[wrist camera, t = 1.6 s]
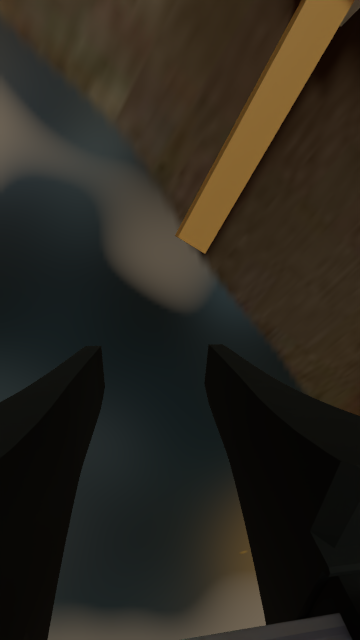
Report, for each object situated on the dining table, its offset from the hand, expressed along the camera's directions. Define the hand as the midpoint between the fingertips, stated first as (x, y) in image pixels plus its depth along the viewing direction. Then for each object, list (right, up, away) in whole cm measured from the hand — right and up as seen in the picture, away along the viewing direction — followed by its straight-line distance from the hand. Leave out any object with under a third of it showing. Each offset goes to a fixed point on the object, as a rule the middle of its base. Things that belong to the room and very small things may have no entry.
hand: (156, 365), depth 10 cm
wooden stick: (+6, +14, +4) cm, 16 cm away
